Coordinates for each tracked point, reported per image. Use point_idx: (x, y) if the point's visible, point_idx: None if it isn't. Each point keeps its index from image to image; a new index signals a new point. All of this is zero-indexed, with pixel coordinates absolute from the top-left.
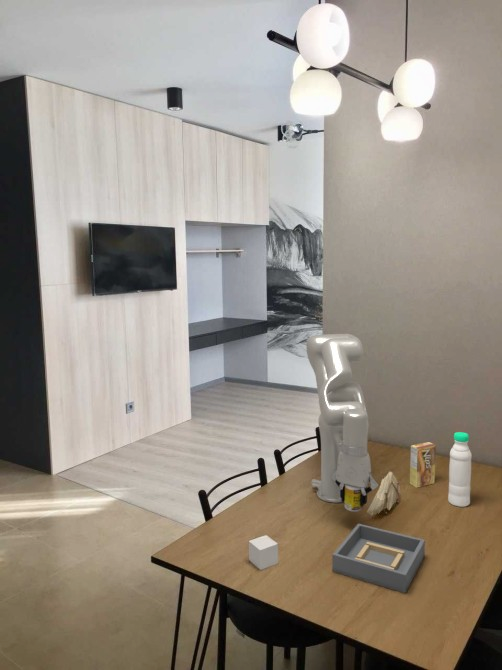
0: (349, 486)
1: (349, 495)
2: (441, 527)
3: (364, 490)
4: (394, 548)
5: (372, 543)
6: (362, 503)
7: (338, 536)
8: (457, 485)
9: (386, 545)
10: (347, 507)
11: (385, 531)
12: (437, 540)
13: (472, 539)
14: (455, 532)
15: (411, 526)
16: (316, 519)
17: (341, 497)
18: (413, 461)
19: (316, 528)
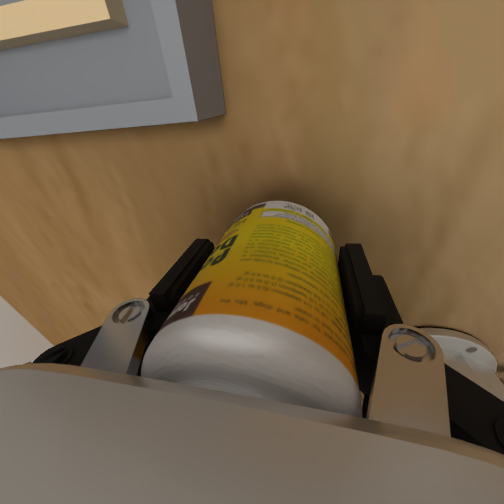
0: (257, 368)
1: (266, 260)
2: (96, 303)
3: (96, 341)
4: (50, 100)
5: (80, 17)
6: (187, 253)
7: (318, 75)
8: None
9: (85, 104)
10: (296, 208)
11: (41, 119)
12: (53, 246)
13: (21, 281)
14: (62, 294)
15: (143, 284)
16: (478, 187)
17: (366, 262)
18: None
19: (471, 87)
